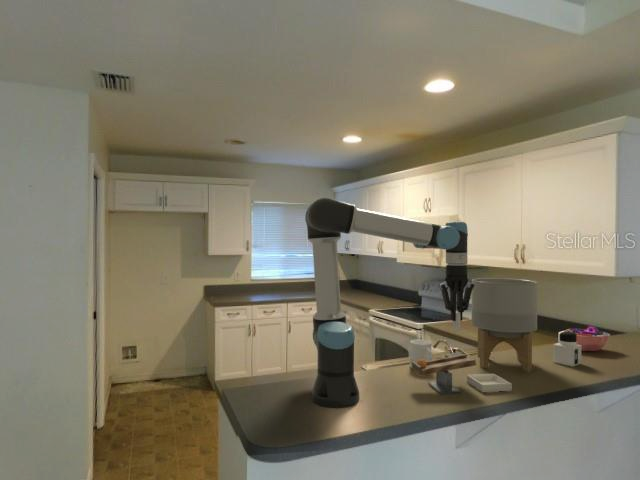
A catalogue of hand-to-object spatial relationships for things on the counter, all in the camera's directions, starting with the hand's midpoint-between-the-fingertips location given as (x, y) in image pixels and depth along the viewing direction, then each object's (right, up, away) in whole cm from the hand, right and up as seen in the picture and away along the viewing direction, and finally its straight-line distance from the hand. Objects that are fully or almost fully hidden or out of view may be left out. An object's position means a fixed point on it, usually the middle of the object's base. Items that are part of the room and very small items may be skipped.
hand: (456, 329), depth 153 cm
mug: (-9, -19, +14) cm, 25 cm away
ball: (-15, -10, -9) cm, 20 cm away
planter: (+26, -19, +22) cm, 39 cm away
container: (+54, -19, +23) cm, 61 cm away
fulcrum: (-7, -19, -8) cm, 21 cm away
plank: (-7, -11, -5) cm, 14 cm away
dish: (+9, -19, -6) cm, 22 cm away
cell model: (+75, -19, +44) cm, 89 cm away
